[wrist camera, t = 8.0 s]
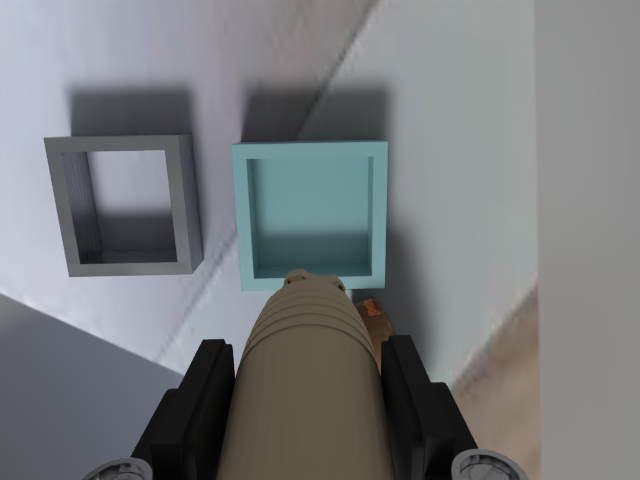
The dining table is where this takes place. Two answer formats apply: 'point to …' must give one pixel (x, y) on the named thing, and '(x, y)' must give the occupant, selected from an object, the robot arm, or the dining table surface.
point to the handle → (307, 392)
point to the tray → (311, 211)
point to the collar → (81, 215)
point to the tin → (375, 324)
